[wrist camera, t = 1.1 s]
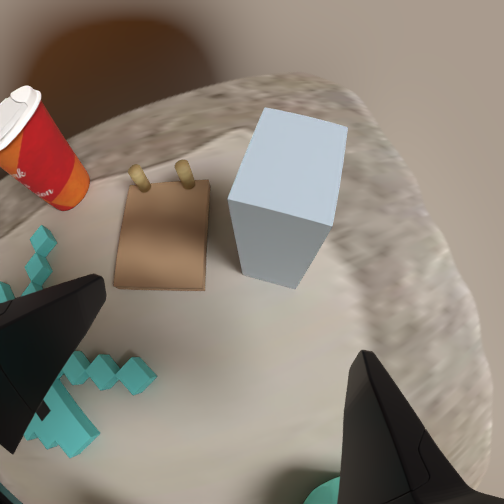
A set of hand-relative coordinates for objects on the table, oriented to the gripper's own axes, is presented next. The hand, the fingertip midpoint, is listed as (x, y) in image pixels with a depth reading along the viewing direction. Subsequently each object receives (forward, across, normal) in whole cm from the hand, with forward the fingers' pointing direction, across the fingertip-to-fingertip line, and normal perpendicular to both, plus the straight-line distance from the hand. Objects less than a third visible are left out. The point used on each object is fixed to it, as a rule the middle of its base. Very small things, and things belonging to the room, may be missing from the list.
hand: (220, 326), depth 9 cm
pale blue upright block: (+16, -1, +4) cm, 16 cm away
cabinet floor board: (+14, +9, +6) cm, 18 cm away
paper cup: (+16, +23, +4) cm, 29 cm away
